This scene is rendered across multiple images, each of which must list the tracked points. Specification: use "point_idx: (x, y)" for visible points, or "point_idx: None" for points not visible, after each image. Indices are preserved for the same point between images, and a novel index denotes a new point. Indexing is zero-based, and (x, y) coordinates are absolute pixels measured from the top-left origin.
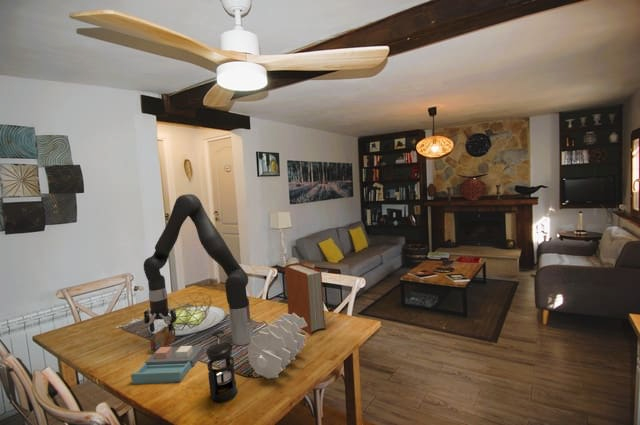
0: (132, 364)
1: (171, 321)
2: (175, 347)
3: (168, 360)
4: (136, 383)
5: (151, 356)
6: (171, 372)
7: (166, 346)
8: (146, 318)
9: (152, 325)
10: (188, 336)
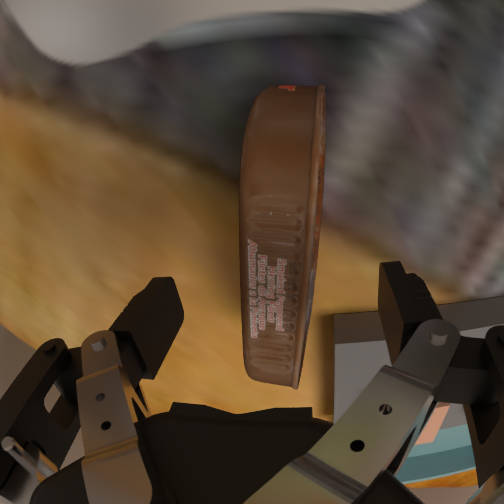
0: (236, 387)
1: (453, 391)
2: None
3: (440, 426)
4: None
5: (337, 414)
6: (467, 470)
7: (319, 227)
8: (70, 441)
9: (152, 353)
10: (407, 47)
